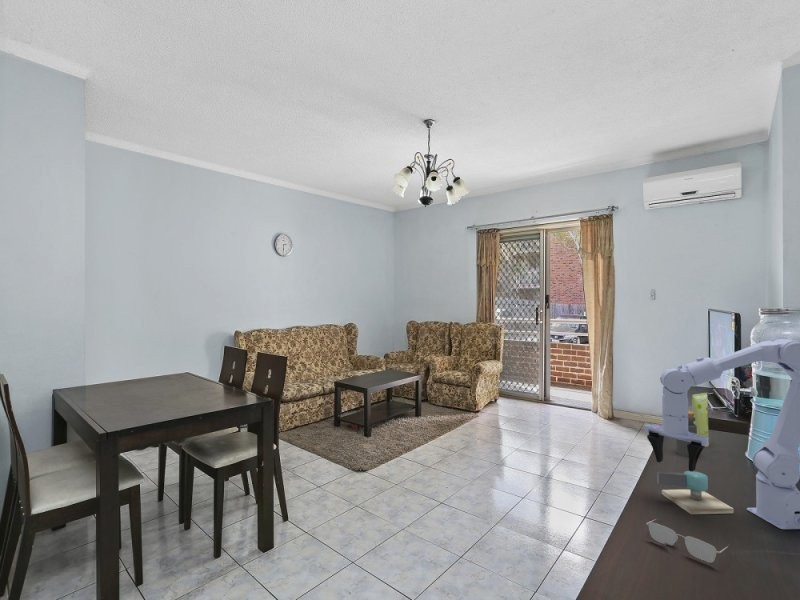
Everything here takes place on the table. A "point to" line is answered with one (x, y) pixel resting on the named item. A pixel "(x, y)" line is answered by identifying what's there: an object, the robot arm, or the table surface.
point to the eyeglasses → (692, 544)
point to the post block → (697, 502)
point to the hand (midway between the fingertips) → (675, 465)
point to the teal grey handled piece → (684, 480)
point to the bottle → (692, 428)
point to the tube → (700, 413)
